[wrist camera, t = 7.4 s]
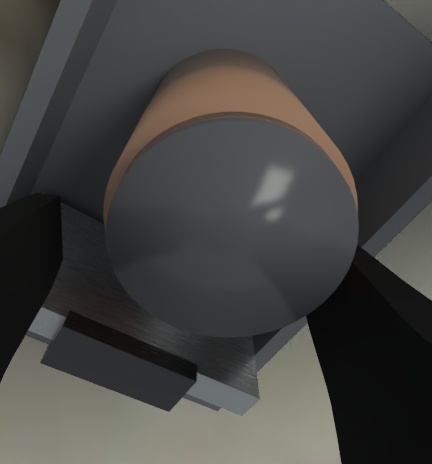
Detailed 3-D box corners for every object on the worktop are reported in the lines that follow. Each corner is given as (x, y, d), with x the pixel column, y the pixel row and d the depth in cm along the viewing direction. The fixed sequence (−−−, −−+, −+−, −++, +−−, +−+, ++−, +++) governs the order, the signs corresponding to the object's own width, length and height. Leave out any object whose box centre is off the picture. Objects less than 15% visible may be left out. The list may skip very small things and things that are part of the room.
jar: (317, 70, 13) (420, 148, 6) (271, 207, 15) (313, 358, 9) (160, 30, 12) (107, 75, 6) (139, 180, 15) (86, 324, 8)
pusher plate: (251, 291, 17) (267, 411, 12) (230, 315, 18) (237, 437, 13) (45, 186, 14) (-38, 285, 10) (29, 219, 15) (-55, 326, 10)
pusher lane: (462, 73, 13) (536, 98, 10) (216, 346, 20) (217, 411, 17) (172, -177, 10) (156, -247, 7) (-9, 246, 17) (-57, 302, 14)
